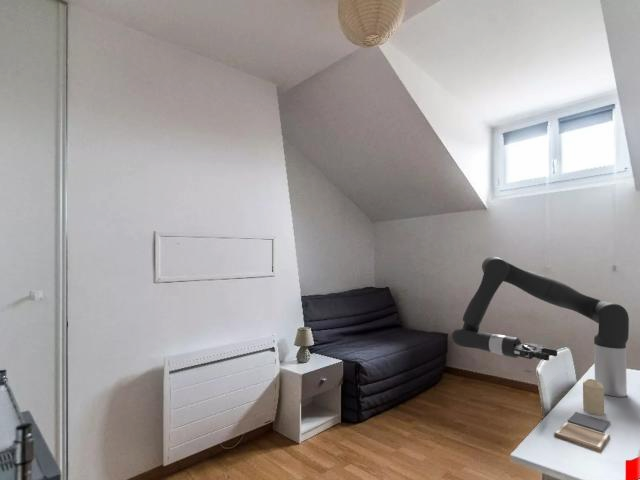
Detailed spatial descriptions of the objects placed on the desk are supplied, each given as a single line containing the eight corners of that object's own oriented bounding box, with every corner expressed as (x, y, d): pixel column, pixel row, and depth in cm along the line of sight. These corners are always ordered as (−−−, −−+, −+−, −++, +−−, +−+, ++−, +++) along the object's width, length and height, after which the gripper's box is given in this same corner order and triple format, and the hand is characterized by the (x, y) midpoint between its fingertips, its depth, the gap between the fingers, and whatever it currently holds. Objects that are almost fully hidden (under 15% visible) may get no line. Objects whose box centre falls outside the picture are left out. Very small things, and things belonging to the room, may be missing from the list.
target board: (565, 424, 108) (565, 420, 108) (609, 438, 100) (609, 434, 100) (554, 436, 100) (554, 432, 100) (600, 452, 93) (600, 448, 93)
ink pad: (575, 413, 115) (575, 411, 115) (609, 423, 109) (609, 421, 109) (567, 422, 109) (567, 420, 109) (602, 433, 103) (602, 430, 103)
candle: (608, 416, 114) (607, 384, 114) (588, 414, 115) (588, 382, 115) (598, 408, 119) (598, 378, 119) (579, 407, 120) (579, 376, 120)
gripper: (496, 338, 133) (546, 347, 121) (512, 333, 143) (559, 341, 131) (496, 358, 133) (546, 370, 121) (512, 352, 143) (559, 362, 130)
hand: (553, 355), depth 126 cm, fingers open, 8 cm apart
